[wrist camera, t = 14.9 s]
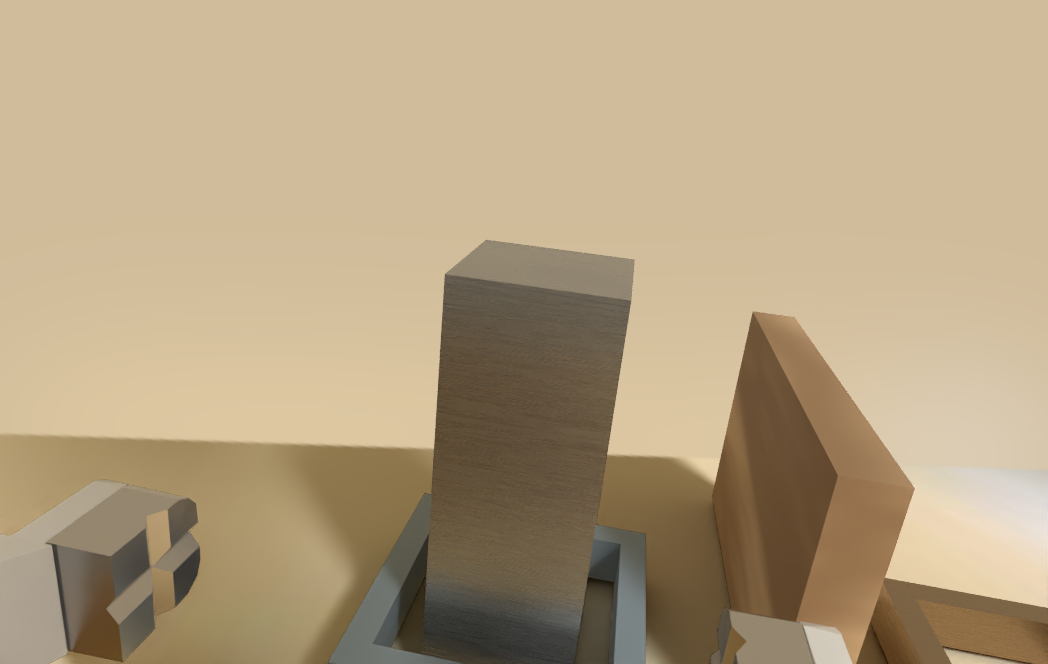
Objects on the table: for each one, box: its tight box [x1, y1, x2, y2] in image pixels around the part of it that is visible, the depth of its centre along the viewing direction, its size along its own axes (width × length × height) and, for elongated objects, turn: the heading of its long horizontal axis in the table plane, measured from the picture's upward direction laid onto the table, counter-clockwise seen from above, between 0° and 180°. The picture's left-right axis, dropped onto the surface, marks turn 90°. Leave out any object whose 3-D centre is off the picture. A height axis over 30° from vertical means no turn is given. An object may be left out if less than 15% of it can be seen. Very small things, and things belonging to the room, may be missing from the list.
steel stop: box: [422, 240, 634, 664], centre depth 18 cm, size 4×4×11 cm
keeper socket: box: [328, 493, 646, 664], centre depth 20 cm, size 8×8×2 cm
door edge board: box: [712, 312, 915, 664], centre depth 21 cm, size 2×12×8 cm, turn 171°
